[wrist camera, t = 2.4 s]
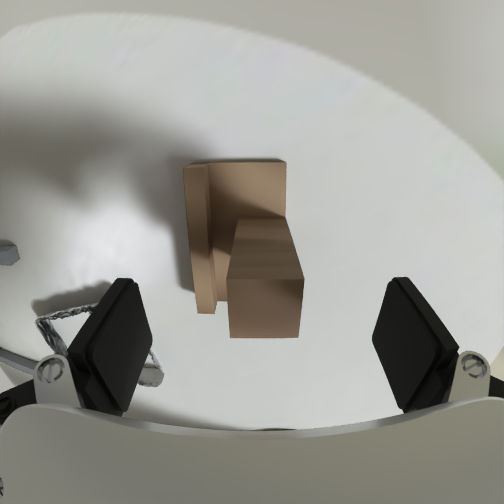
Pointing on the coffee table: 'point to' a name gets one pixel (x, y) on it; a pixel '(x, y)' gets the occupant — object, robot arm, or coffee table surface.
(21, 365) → the bay
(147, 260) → the coffee table surface
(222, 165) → the tan l-shaped bracket
